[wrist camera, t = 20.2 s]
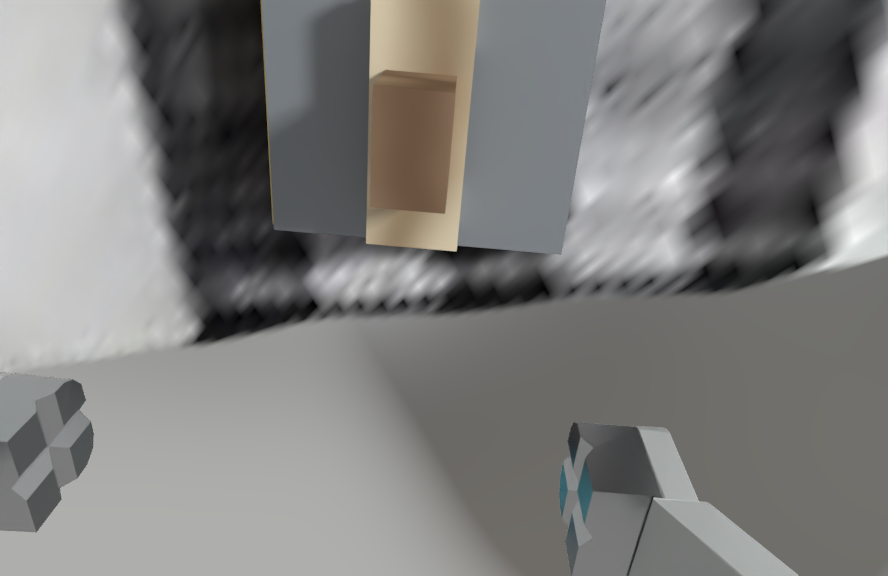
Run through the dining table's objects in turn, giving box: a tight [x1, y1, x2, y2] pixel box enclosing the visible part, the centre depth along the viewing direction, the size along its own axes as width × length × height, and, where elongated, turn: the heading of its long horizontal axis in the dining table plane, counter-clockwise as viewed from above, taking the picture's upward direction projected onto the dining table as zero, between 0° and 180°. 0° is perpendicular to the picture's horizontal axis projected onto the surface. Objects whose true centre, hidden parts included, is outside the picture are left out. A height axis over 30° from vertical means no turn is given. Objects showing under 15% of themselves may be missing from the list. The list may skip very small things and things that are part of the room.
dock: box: [260, 0, 606, 255], centre depth 34 cm, size 16×14×4 cm
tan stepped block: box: [366, 0, 480, 252], centre depth 31 cm, size 5×12×3 cm, turn 176°
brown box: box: [370, 70, 457, 214], centre depth 27 cm, size 3×5×4 cm, turn 176°
